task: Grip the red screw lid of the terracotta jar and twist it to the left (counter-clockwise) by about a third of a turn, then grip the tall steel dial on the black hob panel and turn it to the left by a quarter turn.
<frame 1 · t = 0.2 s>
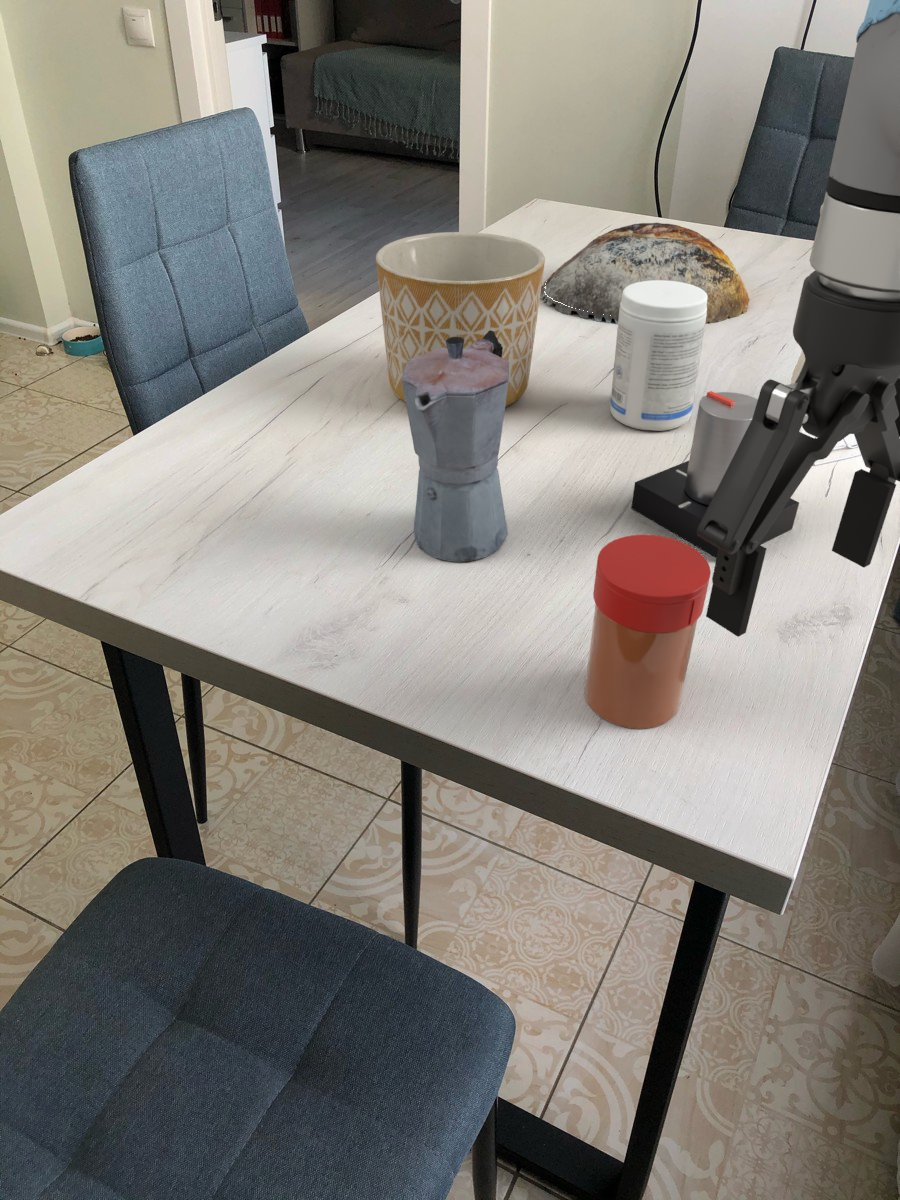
hand: (791, 589, 65), 11 cm above the table, tool pointing down, fingers open, 13 cm apart
bread: (643, 296, 146), on the table
planter: (458, 391, 117), on the table
jar: (631, 696, 72), on the table
supplement tub: (648, 417, 112), on the table
lid: (652, 571, 65), point 12 cm above the table, screwed on, not yet turned
moka pot: (459, 536, 90), on the table
dial: (724, 448, 88), point 8 cm above the table, hinge at 0.0°
hob panel: (710, 518, 93), on the table
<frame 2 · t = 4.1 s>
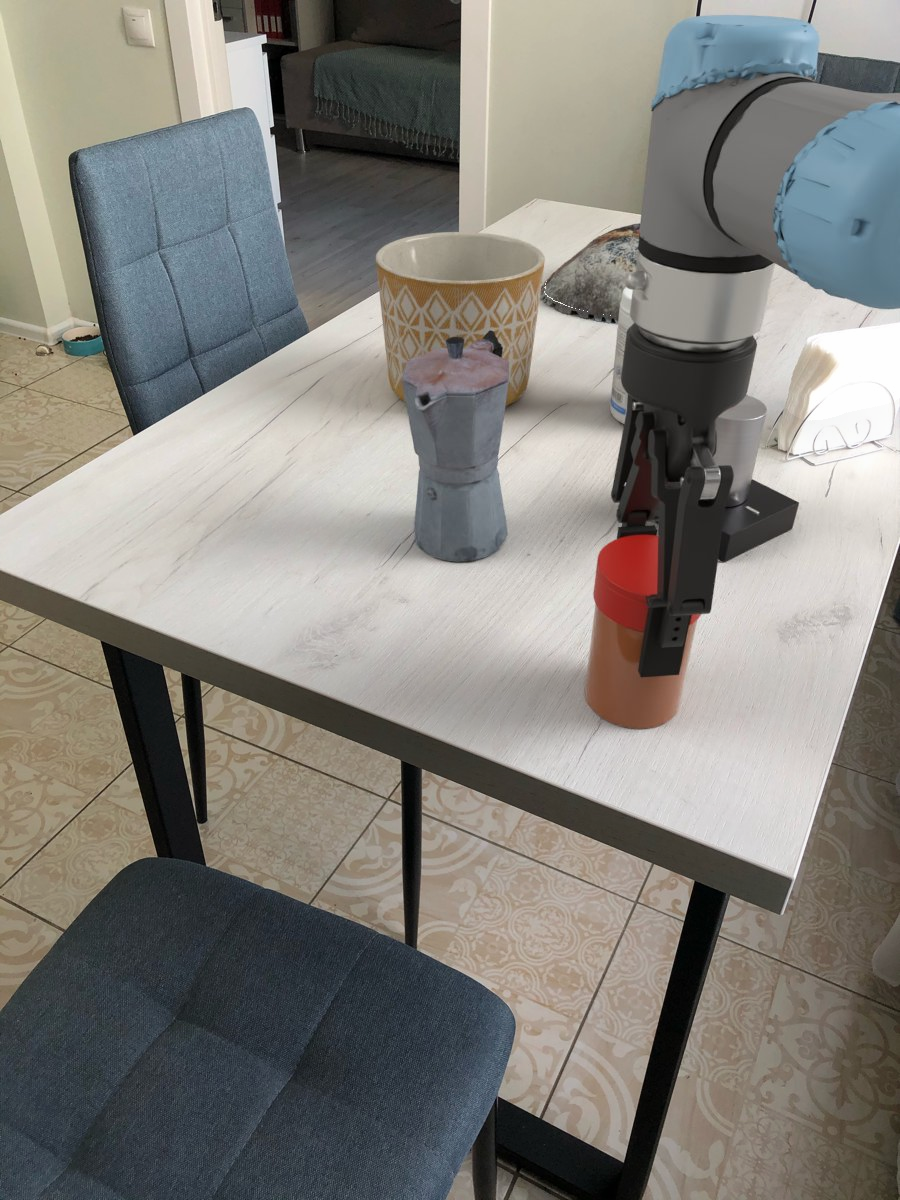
hand: (641, 634, 68), 6 cm above the table, tool pointing down, fingers closed on lid, 8 cm apart
lid: (652, 571, 65), point 12 cm above the table, screwed on, not yet turned, touching gripper
everything else where it was.
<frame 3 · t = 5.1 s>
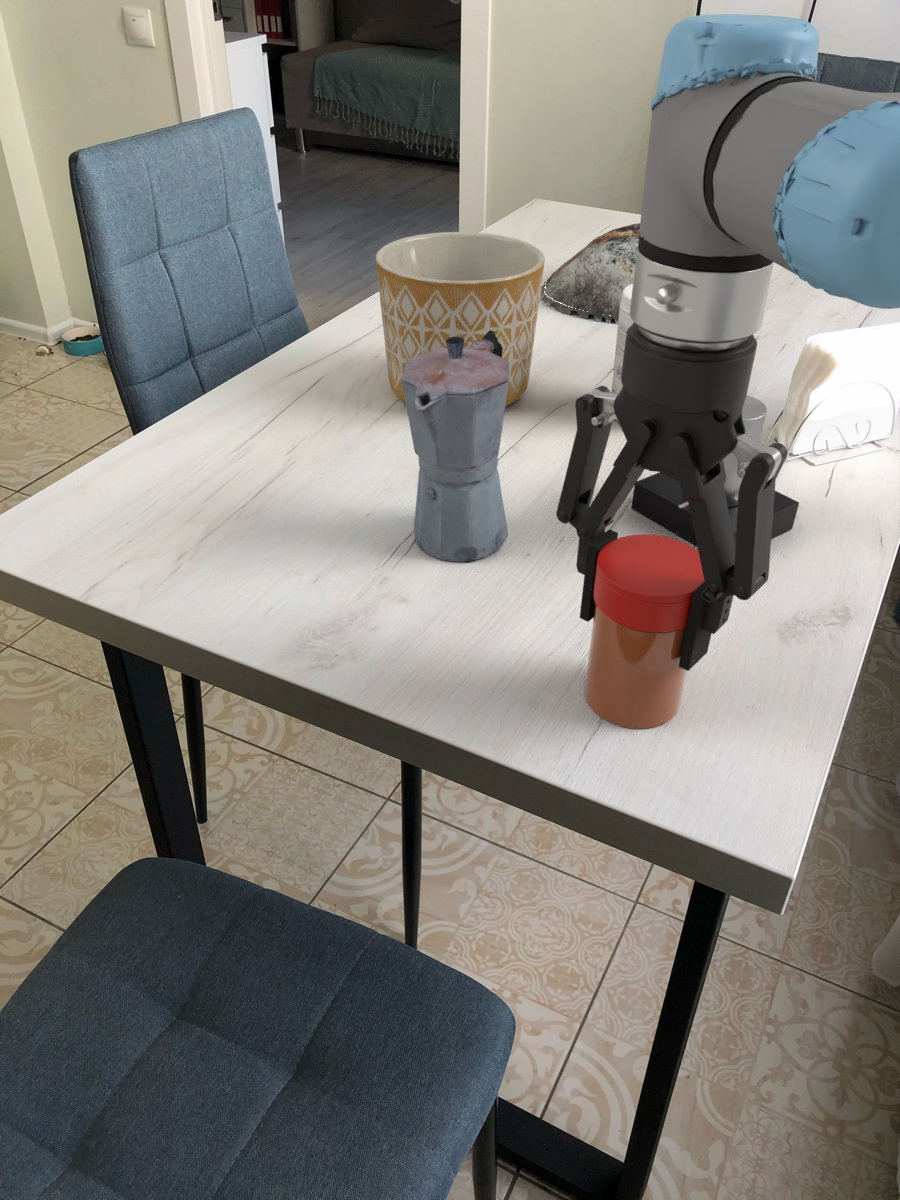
hand: (641, 634, 68), 6 cm above the table, tool pointing down, fingers closed on lid, 8 cm apart
lid: (652, 570, 65), point 12 cm above the table, turned 43° so far, risen 0.0 cm, still on its thread, touching gripper
everything else where it was.
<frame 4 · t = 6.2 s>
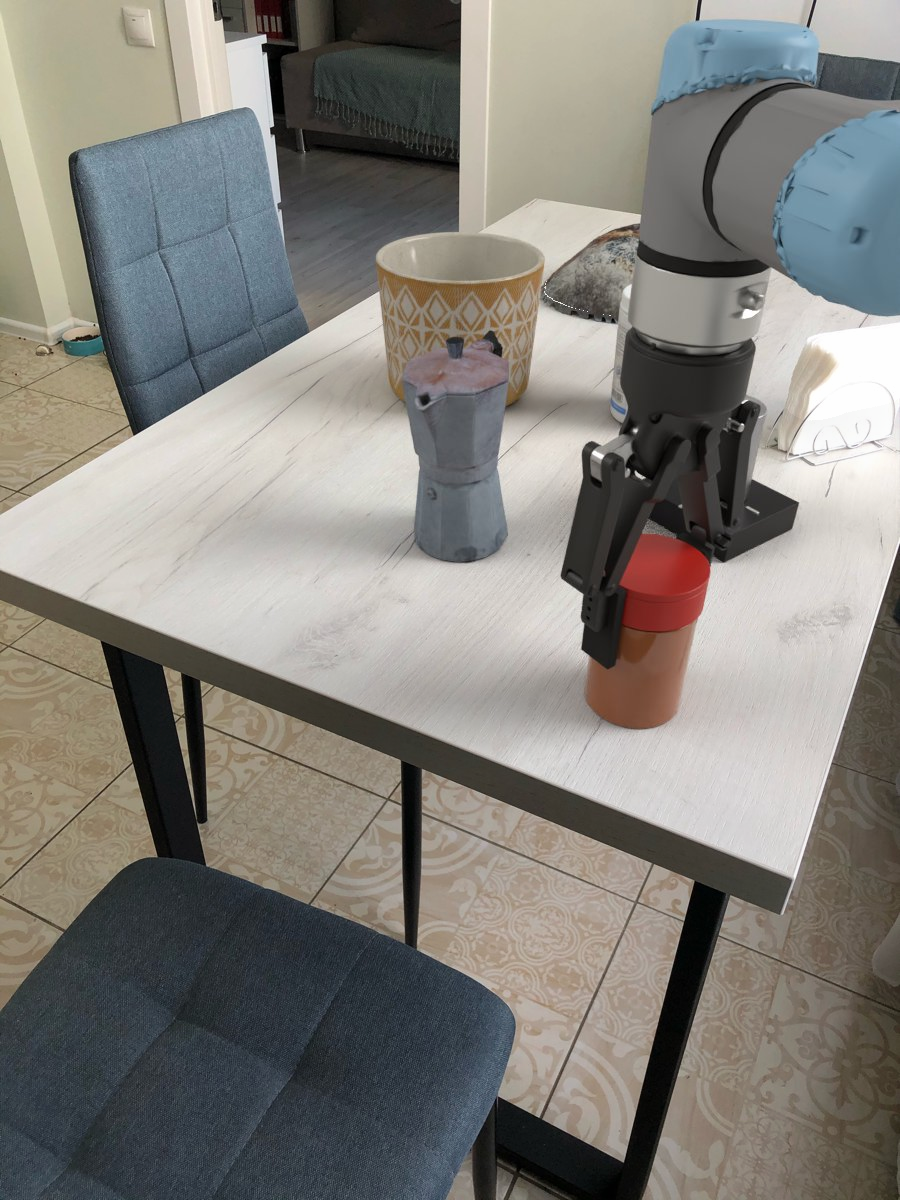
hand: (640, 635, 68), 6 cm above the table, tool pointing down, fingers closed on lid, 8 cm apart
lid: (652, 570, 65), point 12 cm above the table, turned 120° so far, risen 0.1 cm, still on its thread, touching gripper
everything else where it was.
when the fingers open (6 cm above the table, at t = 6.5 s): lid stays where it is, point 12 cm above the table.
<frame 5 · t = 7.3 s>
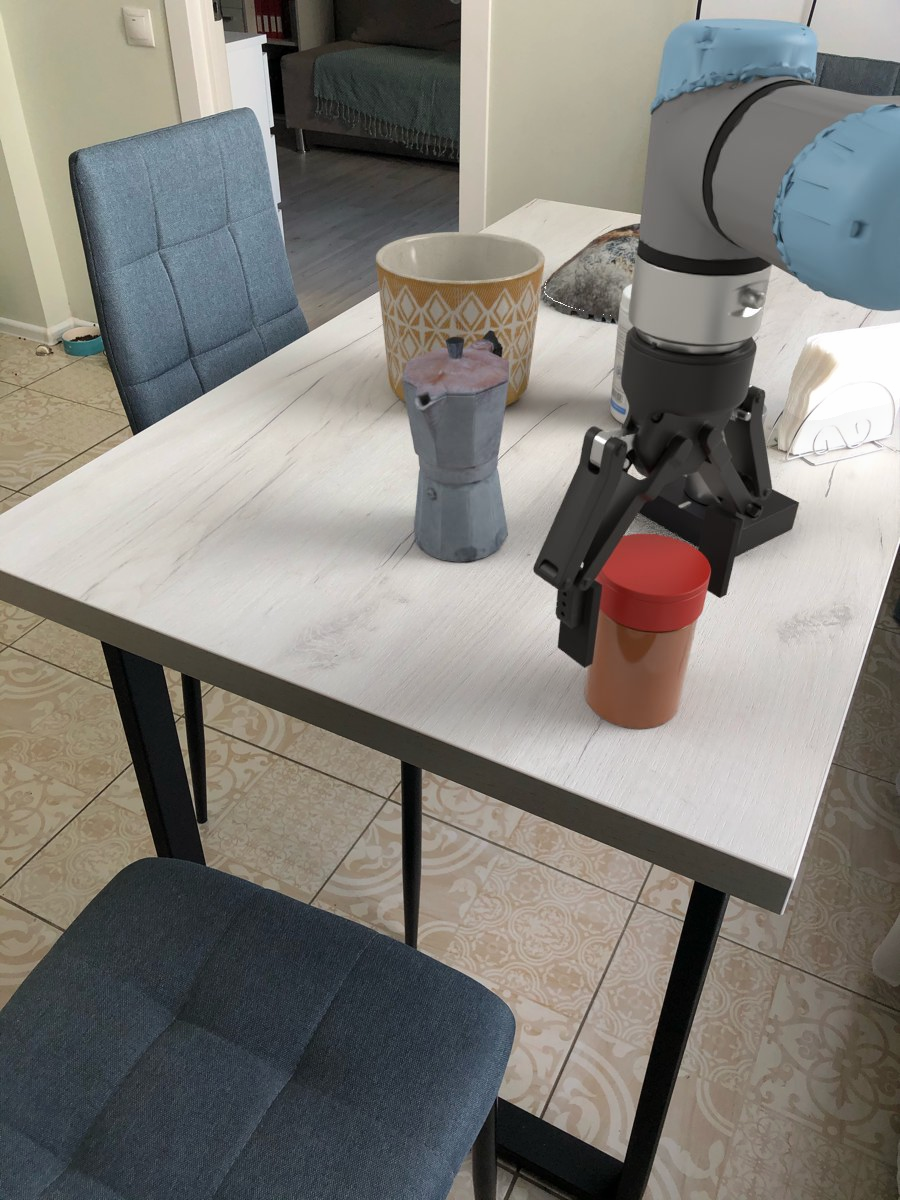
hand: (645, 620, 67), 7 cm above the table, tool pointing down, fingers open, 13 cm apart
lid: (652, 570, 65), point 12 cm above the table, turned 120° so far, risen 0.1 cm, still on its thread
everything else where it was.
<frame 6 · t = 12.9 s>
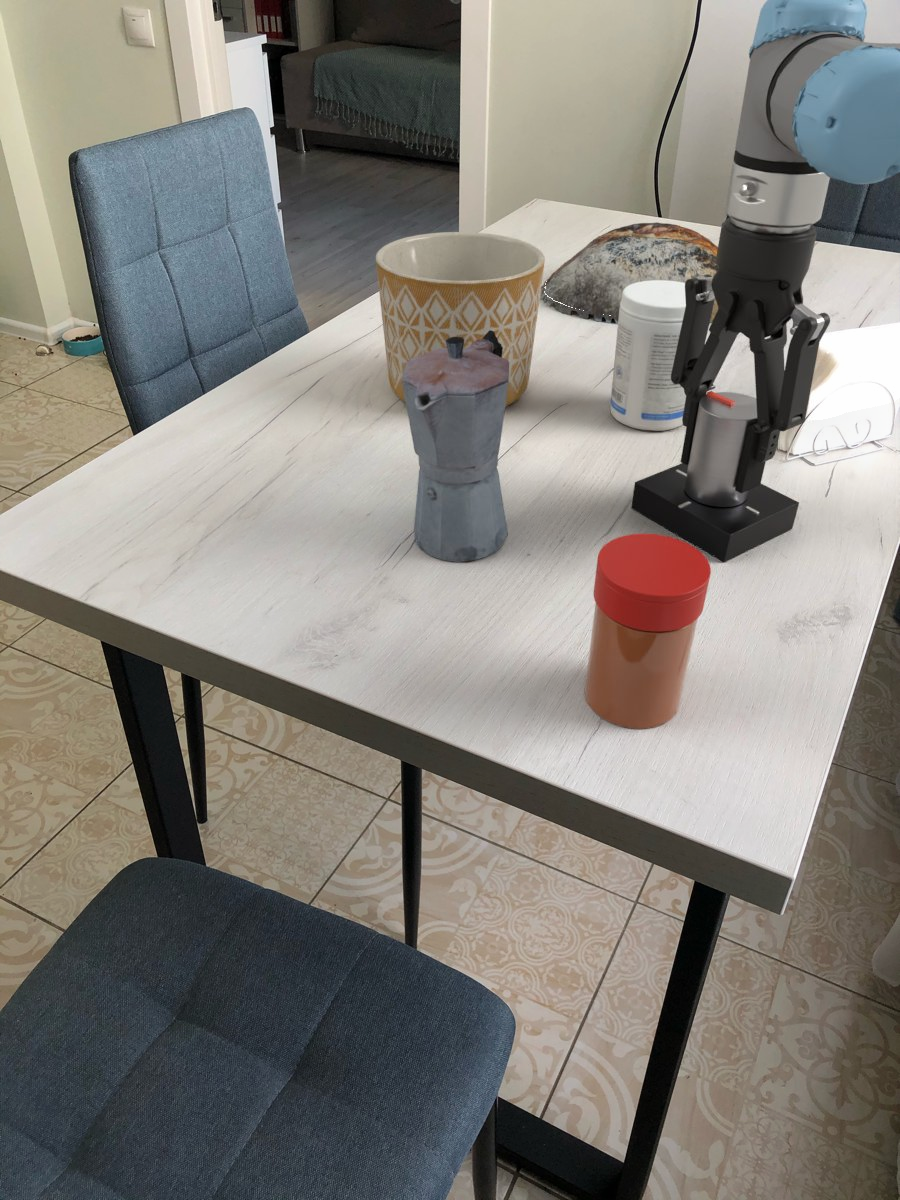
hand: (719, 472, 90), 5 cm above the table, tool pointing down, fingers closed on dial, 6 cm apart
dial: (724, 448, 88), point 8 cm above the table, hinge at 0.0°, touching gripper
everything else where it was.
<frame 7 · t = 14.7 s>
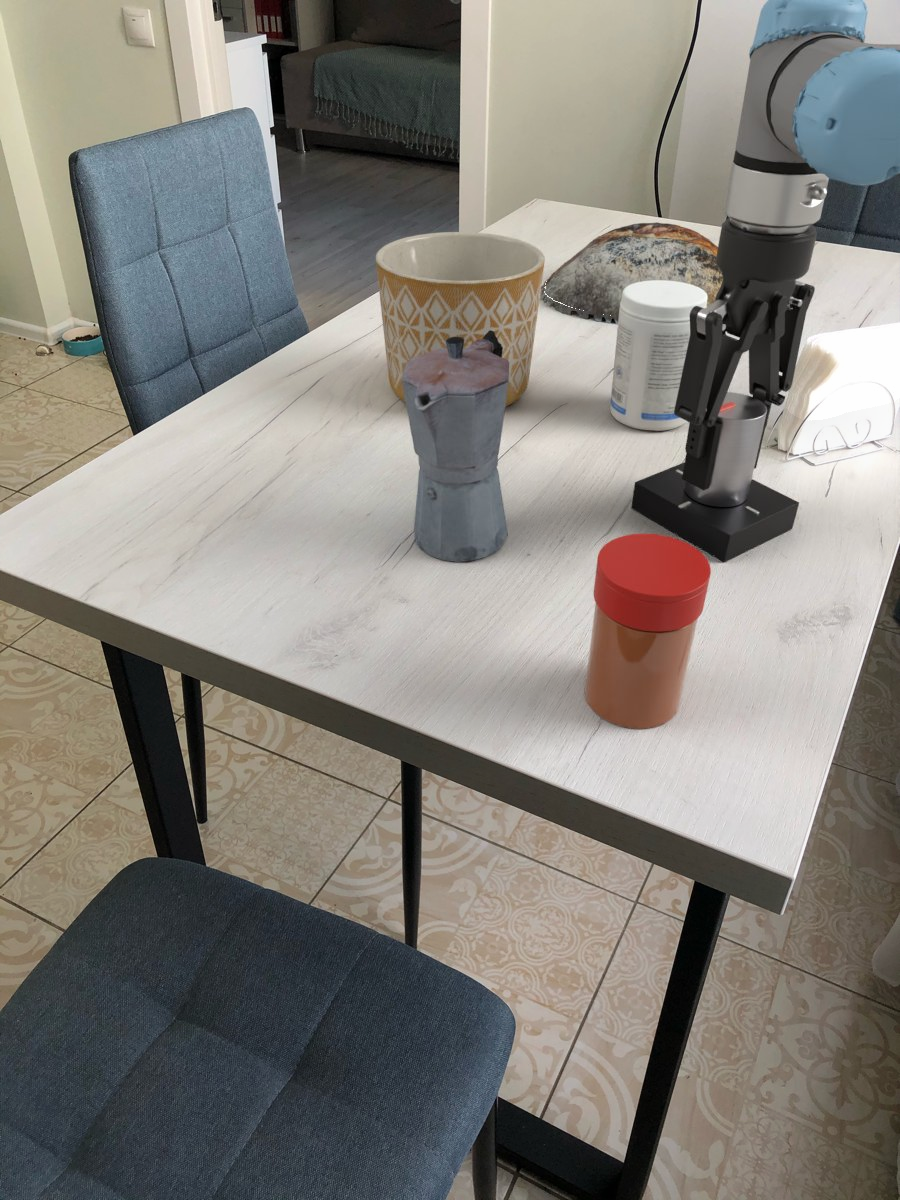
hand: (719, 473, 90), 5 cm above the table, tool pointing down, fingers closed on dial, 6 cm apart
dial: (724, 448, 88), point 8 cm above the table, hinge at 90.0°, touching gripper
everything else where it was.
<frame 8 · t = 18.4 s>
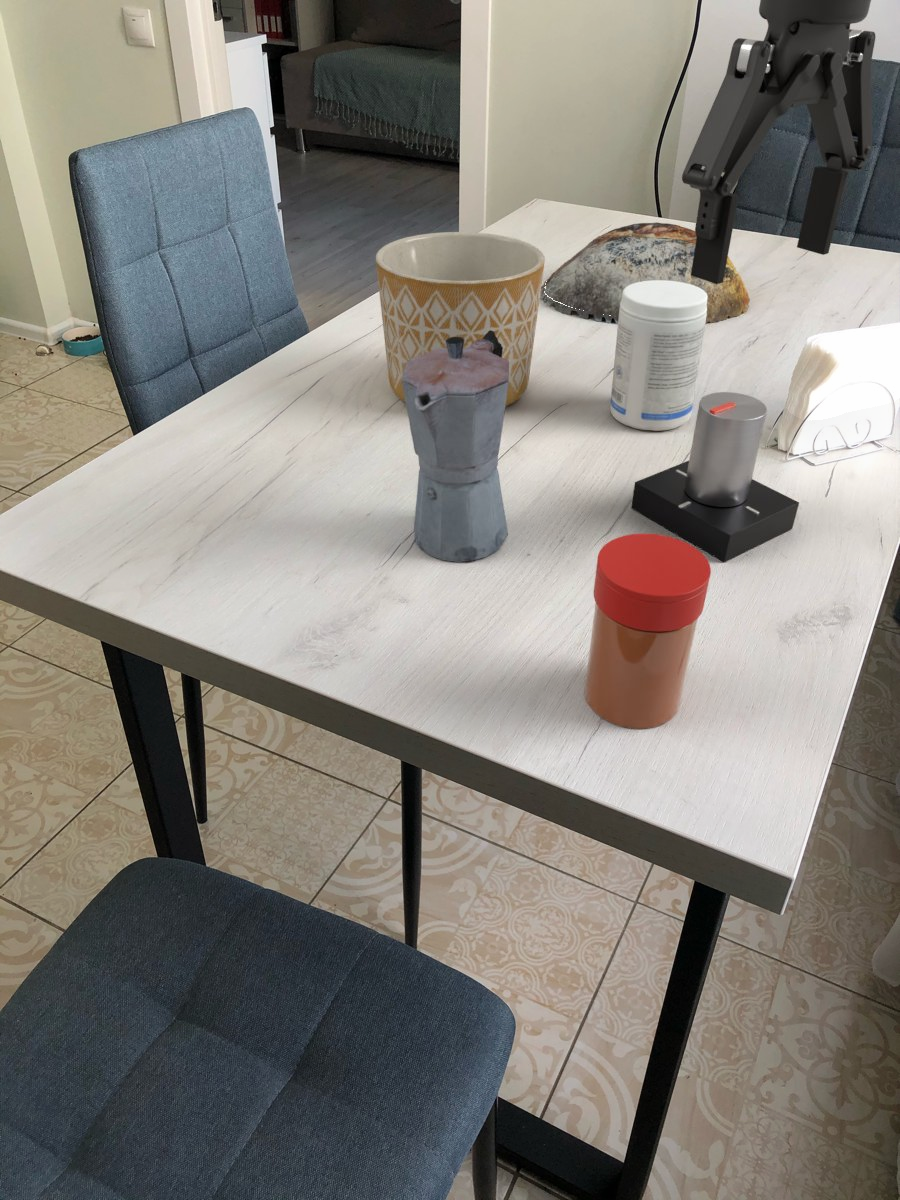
hand: (761, 264, 78), 25 cm above the table, tool pointing down, fingers open, 13 cm apart
dial: (724, 448, 88), point 8 cm above the table, hinge at 89.8°
everything else where it was.
at the end: lid turned 0.33 turns (still on its thread); dial at +90° (first picture: +0°); jar tilted 0° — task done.
